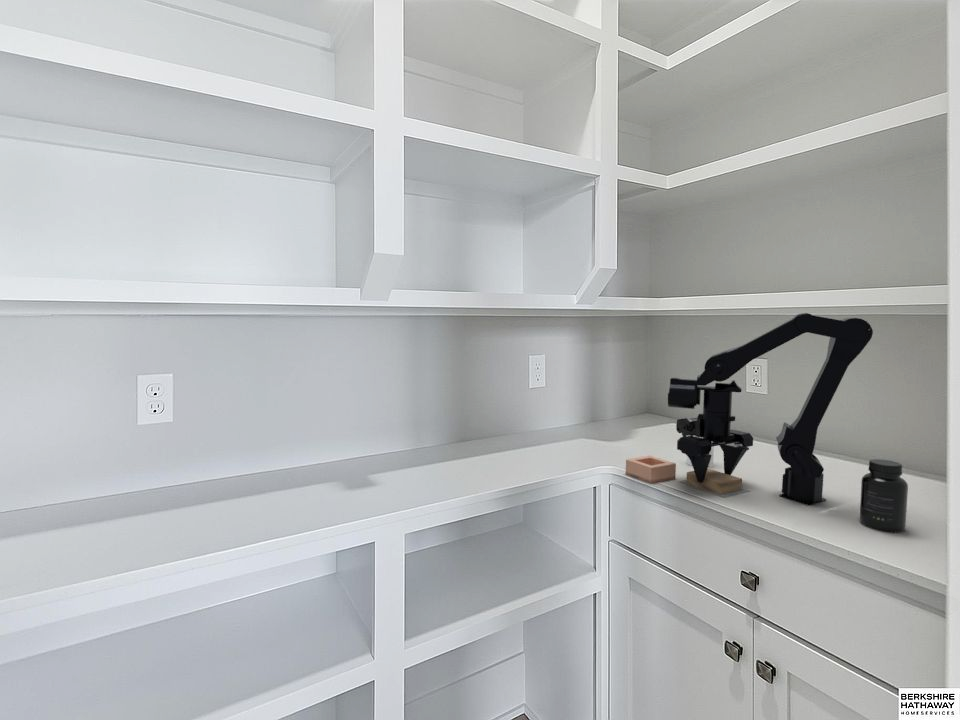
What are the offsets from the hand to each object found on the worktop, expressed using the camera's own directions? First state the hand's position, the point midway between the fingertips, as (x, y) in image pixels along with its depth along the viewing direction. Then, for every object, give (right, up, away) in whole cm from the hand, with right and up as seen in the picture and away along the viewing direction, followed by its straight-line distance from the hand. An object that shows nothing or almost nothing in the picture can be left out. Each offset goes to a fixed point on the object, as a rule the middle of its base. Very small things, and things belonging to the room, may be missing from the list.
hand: (713, 479), depth 118 cm
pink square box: (-12, -1, +7) cm, 14 cm away
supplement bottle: (+22, -4, -21) cm, 30 cm away
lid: (0, -2, 0) cm, 2 cm away
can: (+5, -1, +19) cm, 19 cm away
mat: (0, -2, 0) cm, 2 cm away
